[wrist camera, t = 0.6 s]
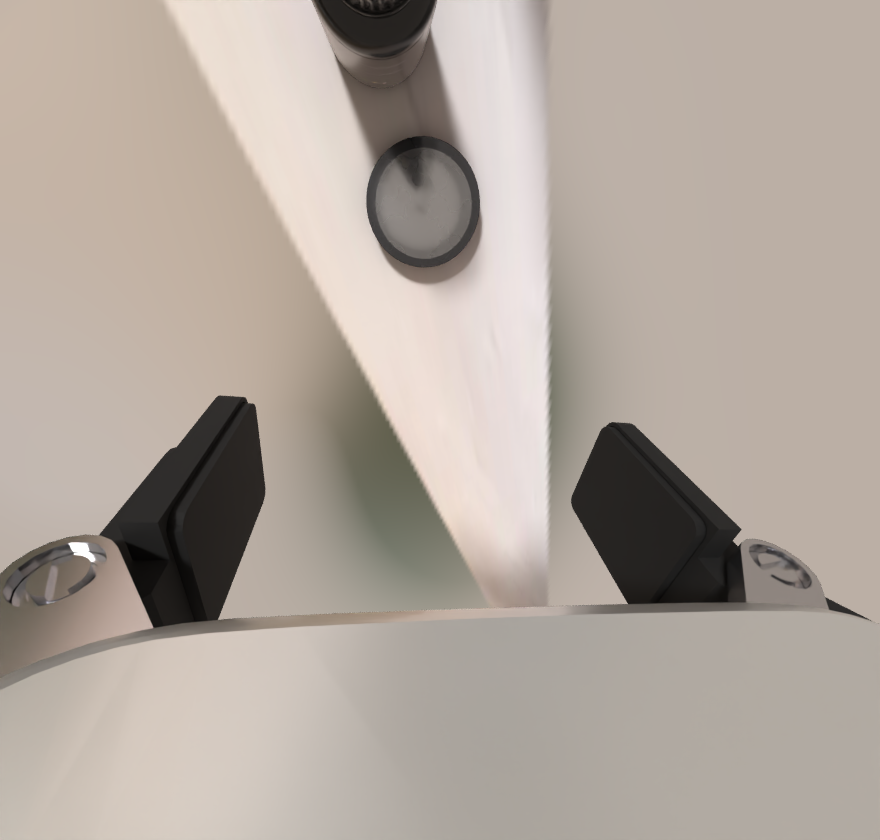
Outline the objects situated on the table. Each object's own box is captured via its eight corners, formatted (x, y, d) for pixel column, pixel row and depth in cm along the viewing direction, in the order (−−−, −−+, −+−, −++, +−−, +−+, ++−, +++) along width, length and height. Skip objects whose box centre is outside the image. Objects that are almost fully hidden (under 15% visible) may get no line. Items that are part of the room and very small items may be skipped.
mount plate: (370, 127, 28) (370, 123, 27) (486, 151, 30) (491, 149, 28) (364, 256, 32) (363, 259, 31) (465, 271, 34) (468, 274, 33)
